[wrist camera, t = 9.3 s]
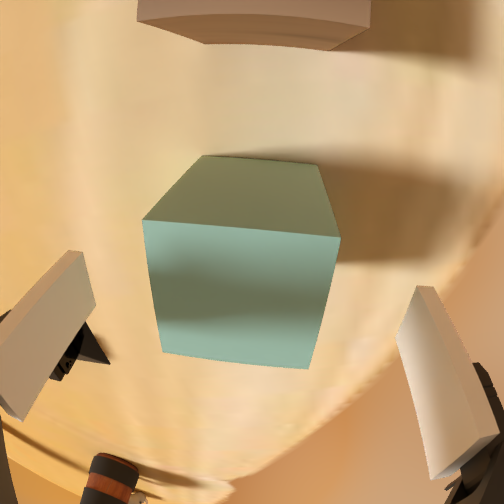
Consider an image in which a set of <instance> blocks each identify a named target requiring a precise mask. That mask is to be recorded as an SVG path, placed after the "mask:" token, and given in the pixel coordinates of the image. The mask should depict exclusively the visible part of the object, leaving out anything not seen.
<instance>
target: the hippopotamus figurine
mask: <svg viewBox="0 0 504 504" xmlns="http://www.w3.org/2000/svg"><path fill="white" fill-rule="evenodd" d="M144 501H145V502H146V504H148V500H147V499H146V496H145V494H144V493H142V492H136V493H135V494H131V496H130V499H129V502H128V504H142V503H144Z"/></svg>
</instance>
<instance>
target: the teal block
mask: <svg viewBox="0 0 504 504" xmlns="http://www.w3.org/2000/svg"><path fill="white" fill-rule="evenodd" d="M142 223H143V232H144V241H145V249H146V256H147V264H148V271H149V278H150V284H151V291H152V297H153V303H154V309H155V314H156V320H157V325H158V331H159V336H160V341H161V346H162V351H163V352H165V353H171V354H177V355H183V356H189V357H196V358H203V359H210V360H217V361H225V362H233V363H242V364H251V365H261V366H272V367H283V368H297V369H309V365H310V362H311V358H312V355H313V351H314V348H315V344H316V341H317V337H318V333H319V329H320V326H321V322H322V318H323V314H324V310H325V306H326V302H327V298H328V294H329V290H330V286H331V282H332V277H333V273H334V269H335V264H336V260H337V255H338V250H339V246H340V241H341V236H340V232H339V229H338V226H337V223H336V220H335V216H334V213H333V210H332V207H331V204H330V201H329V198H328V195H327V192H326V189H325V186H324V183H323V180H322V178H321V175H320V172H319V169H318V166H317V165H314V164H305V163H296V162H286V161H275V160H263V159H251V158H236V157H219V156H201V157H200V158H199V159H198V160H197V161H196V162H195V163H194V164H193V165H192V166H191V167H190V168H189V169H188V170H187V171H186V173H185V174H184V175H183V176H182V177H181V178H180V179H179V180H178V181H177V182H176V183H175V184H174V185H173V186H172V187H171V188H170V189H169V191H168V192H167V193H166V194H165V195H164V196H163V197H162V198H161V199H160V200H159V201H158V203H157V204H156V205H155V206H154V207H153V208H152V209H151V210H150V212H149V213H148V214H147V215H146V216H145V217H144V218H143V219H142Z"/></svg>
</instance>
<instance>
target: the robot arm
mask: <svg viewBox="0 0 504 504" xmlns="http://www.w3.org/2000/svg"><path fill="white" fill-rule="evenodd" d="M95 306H96V303H95V299H94V295H93V292H92V288H91V284H90V280H89V276H88V272H87V268H86V264H85V259H84V255H83V252H79V251H71V250H68V251H67V252H66V253H65V254H64V255H63V256H62V257H61V258H60V259H59V260H58V261H57V262H56V263H55V264H54V265H53V266H52V267H51V268H50V269H49V270H48V271H47V272H46V273H45V274H44V275H43V276H42V277H41V279H40V280H39V281H38V282H37V283H36V284H35V285H34V286H33V287H32V288H31V289H30V290H29V291H28V292H27V293H26V295H25V296H24V297H23V298H22V299H21V300H20V301H19V302H18V303H17V305H16V306H15V307H14V308H13V309H12V310H9V311H8V312H6V313H5V314H3V315H2V316H0V405H1V406H2V408H3V409H4V410H5V411H6V413H7V414H8V415H10V416H12V417H14V418H15V419H17V420H19V421H21V422H23V421H24V419H25V417H26V416H27V414H28V412H29V410H30V408H31V407H32V405H33V403H34V401H35V400H36V398H37V396H38V395H39V393H40V391H41V389H42V388H43V386H44V384H45V383H46V381H47V379H48V378H49V376H50V375H51V373H52V371H53V370H54V368H55V366H56V365H57V363H58V362H59V360H60V359H61V357H62V355H63V354H64V352H65V351H66V349H67V348H68V346H69V345H70V343H71V342H72V340H73V338H74V337H75V335H76V334H77V332H78V331H79V330H80V328H81V327H82V325H83V324H84V322H85V321H86V319H87V318H88V316H89V315H90V313H91V312H92V311H93V309H94V308H95ZM395 339H396V342H397V346H398V349H399V352H400V355H401V359H402V362H403V365H404V369H405V372H406V376H407V379H408V383H409V387H410V390H411V394H412V398H413V402H414V405H415V409H416V413H417V418H418V422H419V426H420V430H421V435H422V439H423V443H424V448H425V453H426V458H427V463H428V469H429V474H430V480H434V479H439V478H444V477H448V476H451V475H452V474H453V473H455V472H456V471H457V470H458V469H460V470H461V476H460V477H458V478H457V479H456V480H454V481H453V482H451V483H450V484H449V485H448V486H447V487H446V488H445V490H446V491H447V490H449V489H450V488H451V487H453V486H454V487H453V489H452V491H451V492H450V494H449V496H448V498H447V500H446V502H445V504H504V410H503V407H502V405H501V402H500V400H499V398H498V397H497V393H496V390H495V388H494V387H493V383H492V381H491V379H490V376H489V374H488V372H487V371H486V370H485V369H484V368H483V367H482V366H481V365H480V363H478V362H477V363H472V362H471V359H470V358H469V355H468V353H467V351H466V349H465V347H464V345H463V342H462V340H461V338H460V336H459V334H458V332H457V330H456V328H455V326H454V324H453V322H452V320H451V318H450V317H449V315H448V313H447V311H446V309H445V308H444V305H443V303H442V302H441V300H440V298H439V296H438V294H437V293H436V291H435V289H434V287H430V286H416V289H415V292H414V294H413V297H412V299H411V302H410V304H409V307H408V309H407V312H406V314H405V316H404V319H403V321H402V324H401V326H400V328H399V330H398V333H397V335H396V337H395ZM0 504H18V501H17V498H16V494H15V490H14V487H13V482H12V478H11V474H10V469H9V464H8V459H7V454H6V449H5V443H4V436H3V429H2V422H1V416H0Z"/></svg>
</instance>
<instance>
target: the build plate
mask: <svg viewBox="0 0 504 504" xmlns="http://www.w3.org/2000/svg"><path fill="white" fill-rule="evenodd" d="M76 359H77V360H83V361H89V362H95V363H102V364H109V365H110V362H109V360H108V359H107V357H106V355H105V354H104V352H103V351H102V349H101V347H100V346H99V344H98V342H97V341H96V339H95V337H94V335H93V334H92V332H91V330H90V328H89V327H88V325H87V323H86V321H85V322H84V324H83V325H82V327H81V328H80V330H79V331H78V332H77V334H76V335H75V337H74V338H73V340H72V342H71V343H70V345H69V346H68V348H67V349H66V351H65V352H64V354H63V355H62V357H61V359H60V360H59V362H58V363H57V365H56V366H55V368H54V370H53V371H52V373H51V375H50V376H49V378H50V379H53V380H57V381H61V380H62V379H63V377H64V375H65V374H68V373H69V371H70V369H71V368H72V366H73V364H74V363H75V361H76Z"/></svg>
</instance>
